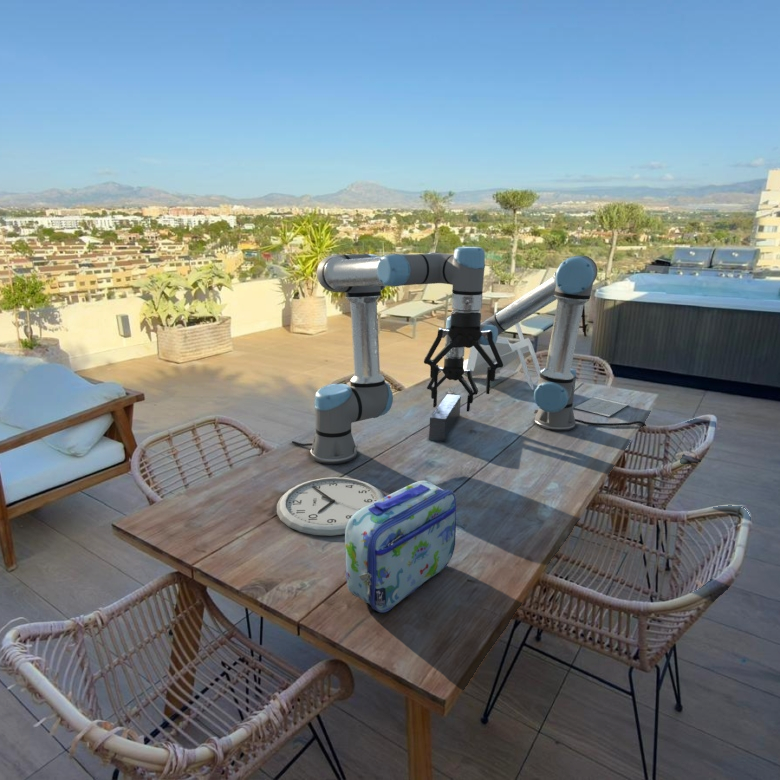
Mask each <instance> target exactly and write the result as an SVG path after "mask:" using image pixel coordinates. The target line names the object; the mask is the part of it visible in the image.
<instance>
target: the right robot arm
mask: <svg viewBox="0 0 780 780" xmlns="http://www.w3.org/2000/svg"><path fill="white" fill-rule="evenodd" d="M557 267H558V268H557V269H556V271H555V272H554V273H553V276H552V277H550V278H549V279H548V280H546V281H545V282H543V283H542V284H540V285H538V286H537V287H536V288H534V289H532V290H530V291H529V292H528V293H526V294H524V295H523V296H521V297H520V298H518V299H516V300H515V301H513V302H512V303H510V304H509V305H508V306H506V307H505V308H503V309H501V310H500V311H498V312H497V313H495V314H493V315H492V316H490V317H488V318H487V319H485V320H484V321H481V324H480V330H481V331H488V330H491V331H492V335H493V342H494V344H495V343H496V341H497V339H499V338H498V337H499V336H500V335H501V334H503V333H504V332H506V331H507V330H509V329H510V328H512V327H514V326H515V324H517V323H519V324H520V323H521V322H522V321H523V320H525V319H527V318H529V317H530V316H532V315H533V314H535V313H537V312H538V311H540V310H541V309H543V308H545V307H547V306H548V305H550V304H552V303H553V302H555V301H556V300H557V302H556V309H555V314H554V319H553V324H552V330H551V335H550V340H549V345H548V350H547V351H548V352H547V357H546V362H545V367H543V368H541V371H540V375H539V377H538V382H537V386H536V387H535V389H534V390H533V391H534V392H533V399H534V403H535V405H536V406H537V407H538V409H534V415H535V417H534V424H535V425H536V426H537V427H539V428H542V429H544V430H549V431H556V432H567V431H572V430H574V429H575V428H576V423H580V424H584V425H588V426H589V425H590V426H600V427H601V426H605V427H613V426H614V427H615V426H618V427H619V426H631V425H638V424H640V425H642V426H643V427H647V425H646V423H645V422H644V421H641V420H636V421H631V422H615V423H614V422H590V421H584V420H582V419H576V418H575V417H576V416H575V413H574V407H573V405H574V397H575V389H576V382H577V379H578V375H577V370H576V369H575V368H572V365H573V360H574V356H575V350H576V345H577V340H578V336H579V332H580V331H579V330H580V325H581V320H582V316H583V310H584V306H585V304H586V303H587V302H589V301H590V300H591V297H592V291H593V286H594V283H595V281H596V279H597V276H598V266H597V264H596V262H595V260H594V259H593V258H591V257H590V256H587V255H583V254H582V255H581V254H580V255H574V256H571V257H568V258H566V259H565V260H563V261H562V262H561V263H560V264H559V265H558V266H557ZM445 322H446V323H445V330H449V329H450V325H451V315H450V316H448V317H447V318H446V321H445ZM444 339H445V341H444V347H445V346H446V345H447V344H448V343H449V342H450V341H451V338H450V337H449V335H448V334H447V335H446V336H445V337H444ZM478 342H479V344H480V345H489V342H488V340H486V339H485V338H484V336H481V337H480V339H479V340H478ZM465 348H466V347H457V346H456V345H455V346H454V347H453V348H452V349H451V350H450V351H449V352H448V353H447V354H446V355H445V356H444V357H443V367H441V366H439V365H438V375H439V374H440V373H443V374H444V375H443V376H442V377H441V379H440V380H439V381H437V388H438V387H440V386H441V384H442V383H444V382H445V380H448V381H458V382H459V383H460V384H461V385H462V387H463V388H464V389H465V390H466V392H467V400H466V412H470V411H471V404H472V403H473V402H474V396H476V395H478V394H479V389H478V387H477V385H476V381H475V380H474V376H472V373H471V370H470V369H469V370H464V369H463V365H464V361H465V358H464V357H465ZM464 373H465V374H466V376H467V377H466V378H467V379H468V382H469V384H468V382H467V381H466V379H465V378H464V375H463V374H464ZM426 389H427V390H429V391H430V398H431V399H432V400H433V401H432V402H433V403H432V405H433V406H432V407H433V408H437V407H438V406H437V405H438V390H437V391H434V378H430V381H429V382H428V384H427V386H426Z"/></svg>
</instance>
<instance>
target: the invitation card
mask: <svg viewBox="0 0 780 780" xmlns="http://www.w3.org/2000/svg"><path fill="white" fill-rule="evenodd" d="M628 406H629V404H627V403H623V402H618V401H614V400H609V399H605V398H601V397H596V396H593V397H592V398H590V399H588V400H586V401H584V402H582V403H580V404H578V405H575V406H574V407H573V409H575V410H581V411H584V412H587V413H593V414H596V415H600V416H604V417H608V418H609V417H611V416H613V415H614V414H616V413H617V412H619V411H621V410H623V409H624V408H626V407H628Z"/></svg>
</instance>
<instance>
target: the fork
mask: <svg viewBox="0 0 780 780" xmlns="http://www.w3.org/2000/svg"><path fill="white" fill-rule="evenodd" d="M448 388H449V389H448V391H447V394H451V395H453V394H454V392H455V386H450V387H448Z"/></svg>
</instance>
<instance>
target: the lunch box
mask: <svg viewBox="0 0 780 780" xmlns="http://www.w3.org/2000/svg"><path fill="white" fill-rule="evenodd" d="M456 531H457V499H456V495H455V493H454V492H453V490H450V489H442V488H440V487H439V486H437V485H435V484H433V483H432V482H430V481H428V480H418V481H416V482H413V483H410V484H409V485H406V486H405V487H402V488H400V489H398V490H396V491H394V492H392V493H390V494H388V495H385V497H384V498H382V499H380V500H378V501H376V502H374V503H372V504H370V505H368V506H366V507H364V508H362V509H360V510H358V511H357V512H355V513H354V514H353V515H352V517H351V518H350V520H349V522H348V524H347V527H346V531H345V534H344V552H345V577H346V578H345V580H346V586H347V589H348V592H349V593H350V594H352V595H354V596H356V597H357V598H359V599H361V600H363V602H365V603H367V604H368V605H370V607H371V608H372V609H373V610H375V611H376V612H378V613H380V614H382V613H383V614H385V613H387V612H389V611H391V609H393V608H394V607H395V606H396V605H397V604H400V602H401V601H402V600H404V599H406V597H409V596H410V595H411V594H412V593H414V592H415V591H416V590H417V589H418V588H420V587H421V586H422V585H423V584H424V583H425V582H427V581H428V580H430V579H432V578H433V577H434V576H436V575H437V574H439V573H441V572H442V571H443V570H445V568H446V567H447V566H448V564H449V563H450V561H451V560H452V557H453V554H454V551H455V548H456V547H455V546H456Z"/></svg>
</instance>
